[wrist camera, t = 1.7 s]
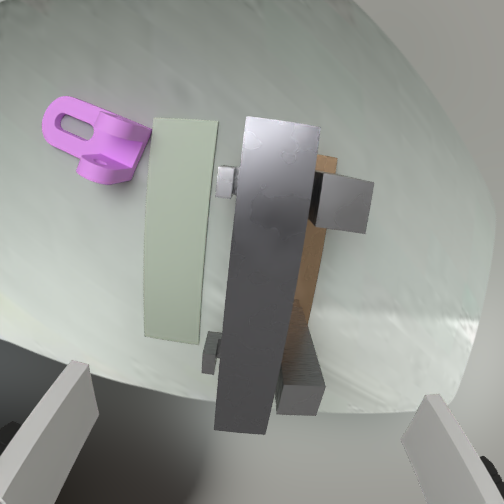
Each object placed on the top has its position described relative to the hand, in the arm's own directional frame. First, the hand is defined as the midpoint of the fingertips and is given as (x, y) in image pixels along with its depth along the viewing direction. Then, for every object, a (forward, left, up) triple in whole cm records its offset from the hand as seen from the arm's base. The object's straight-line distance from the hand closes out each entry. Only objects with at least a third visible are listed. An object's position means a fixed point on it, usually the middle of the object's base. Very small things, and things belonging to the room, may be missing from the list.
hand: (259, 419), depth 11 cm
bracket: (-19, +11, -23) cm, 32 cm away
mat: (-8, 0, -23) cm, 24 cm away
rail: (0, 0, -15) cm, 15 cm away
